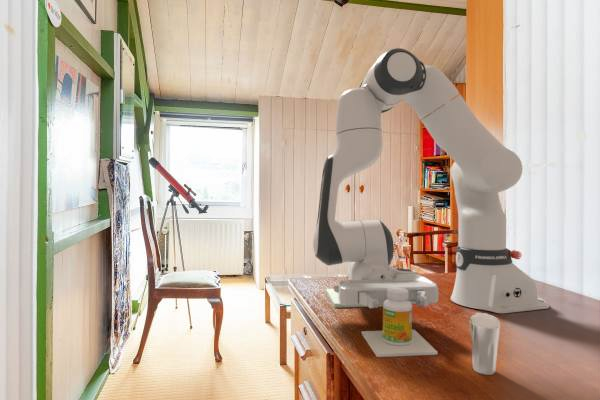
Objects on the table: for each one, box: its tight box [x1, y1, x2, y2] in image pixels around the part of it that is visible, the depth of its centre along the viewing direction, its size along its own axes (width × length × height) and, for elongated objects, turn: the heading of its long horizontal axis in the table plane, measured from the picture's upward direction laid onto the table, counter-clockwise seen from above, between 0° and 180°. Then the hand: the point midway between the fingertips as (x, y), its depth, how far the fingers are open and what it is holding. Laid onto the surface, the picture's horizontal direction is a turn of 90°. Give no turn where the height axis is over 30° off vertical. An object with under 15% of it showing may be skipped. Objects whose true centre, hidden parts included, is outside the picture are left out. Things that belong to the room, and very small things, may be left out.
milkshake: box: [465, 309, 501, 376], centre depth 65 cm, size 4×5×10 cm
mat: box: [361, 329, 438, 358], centre depth 76 cm, size 11×11×1 cm
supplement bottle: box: [382, 288, 413, 346], centre depth 76 cm, size 5×5×10 cm
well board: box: [325, 288, 369, 309], centre depth 106 cm, size 14×14×1 cm
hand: (398, 303), depth 75 cm, fingers open, 8 cm apart
